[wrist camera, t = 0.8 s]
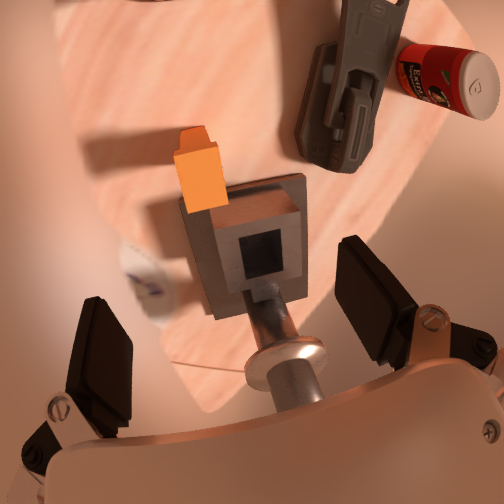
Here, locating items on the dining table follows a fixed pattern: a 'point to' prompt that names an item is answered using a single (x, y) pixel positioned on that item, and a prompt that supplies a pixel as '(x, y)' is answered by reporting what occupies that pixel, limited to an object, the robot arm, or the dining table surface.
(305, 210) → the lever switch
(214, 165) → the orange tapered block
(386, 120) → the dining table surface
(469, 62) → the canned food
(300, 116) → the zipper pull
